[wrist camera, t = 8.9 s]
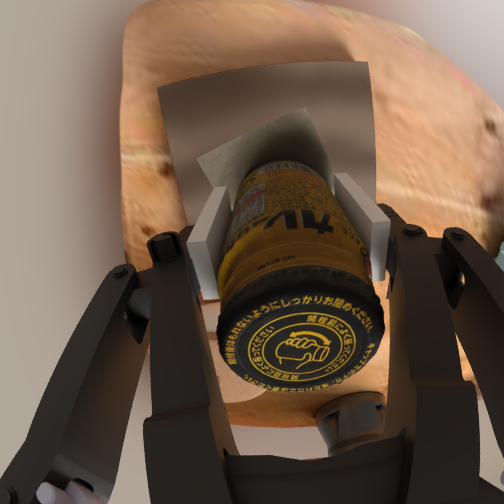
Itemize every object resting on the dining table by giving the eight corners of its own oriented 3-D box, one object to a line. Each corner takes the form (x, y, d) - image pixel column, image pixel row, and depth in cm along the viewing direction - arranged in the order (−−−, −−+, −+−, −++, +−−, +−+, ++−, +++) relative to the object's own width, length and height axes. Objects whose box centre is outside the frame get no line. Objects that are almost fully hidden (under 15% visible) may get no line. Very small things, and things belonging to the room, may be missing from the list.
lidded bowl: (183, 273, 34) (156, 341, 24) (284, 296, 35) (289, 369, 25) (175, 340, 40) (157, 402, 30) (258, 358, 41) (255, 422, 32)
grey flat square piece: (365, 233, 30) (373, 246, 27) (204, 250, 32) (199, 265, 29) (357, 65, 21) (367, 61, 18) (168, 88, 23) (157, 87, 20)
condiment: (257, 262, 21) (251, 419, 10) (196, 158, 17) (100, 263, 7) (352, 223, 19) (427, 364, 8) (304, 106, 15) (388, 127, 5)
